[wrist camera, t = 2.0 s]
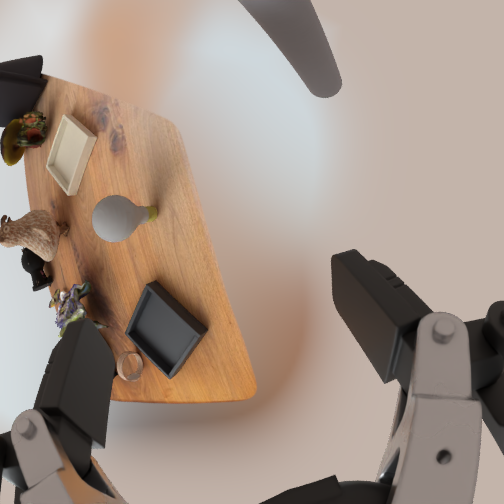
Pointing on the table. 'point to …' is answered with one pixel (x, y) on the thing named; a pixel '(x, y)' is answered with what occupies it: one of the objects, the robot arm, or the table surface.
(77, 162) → the ivory tray
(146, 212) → the light bulb
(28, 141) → the mushroom
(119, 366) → the perforated watch strap
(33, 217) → the figurine
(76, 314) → the passion flower
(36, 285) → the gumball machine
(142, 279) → the table surface
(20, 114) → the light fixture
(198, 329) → the charcoal tray
